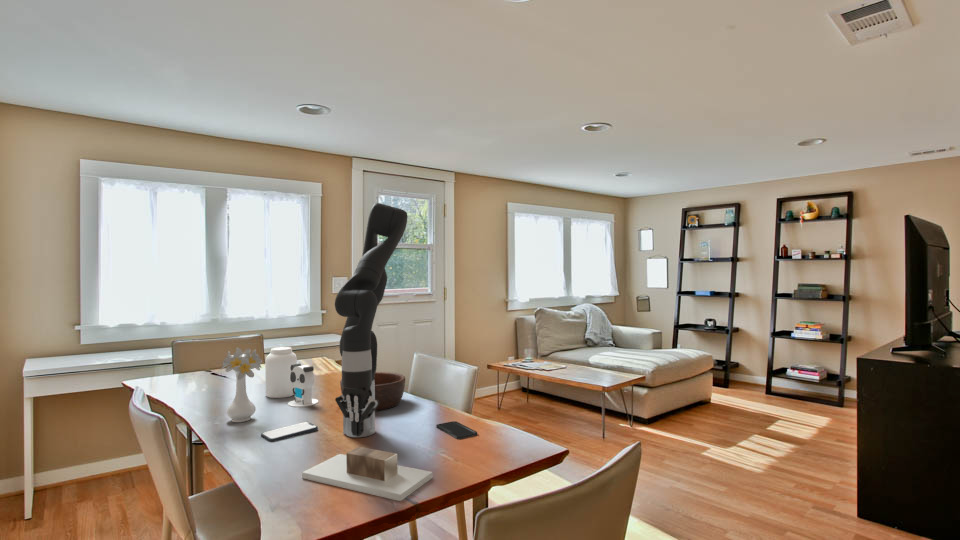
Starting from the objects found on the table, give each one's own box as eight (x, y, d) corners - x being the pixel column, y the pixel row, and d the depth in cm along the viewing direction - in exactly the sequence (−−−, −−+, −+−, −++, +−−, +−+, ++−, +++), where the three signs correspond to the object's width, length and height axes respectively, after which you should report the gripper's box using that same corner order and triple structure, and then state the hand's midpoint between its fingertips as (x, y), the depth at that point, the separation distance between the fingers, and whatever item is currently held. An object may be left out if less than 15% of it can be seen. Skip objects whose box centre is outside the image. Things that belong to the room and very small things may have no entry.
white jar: (302, 394, 212) (302, 347, 212) (273, 400, 203) (273, 351, 203) (289, 389, 221) (288, 344, 221) (260, 395, 212) (260, 347, 212)
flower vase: (232, 430, 165) (232, 354, 165) (214, 418, 178) (214, 348, 178) (272, 421, 174) (271, 350, 174) (252, 411, 188) (251, 344, 188)
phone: (455, 420, 172) (478, 432, 159) (455, 424, 172) (478, 436, 159) (434, 424, 168) (457, 437, 155) (434, 428, 168) (457, 440, 155)
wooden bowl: (345, 417, 180) (345, 388, 180) (336, 400, 203) (336, 375, 203) (413, 408, 190) (412, 381, 190) (396, 393, 213) (396, 369, 213)
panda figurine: (281, 403, 199) (281, 365, 199) (307, 397, 207) (307, 361, 207) (297, 408, 191) (297, 369, 191) (323, 402, 199) (323, 364, 199)
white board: (302, 478, 127) (302, 472, 127) (339, 459, 140) (339, 453, 140) (400, 501, 114) (400, 494, 114) (432, 477, 127) (432, 472, 127)
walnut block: (346, 453, 126) (385, 460, 121) (359, 446, 131) (397, 453, 126) (346, 472, 126) (385, 481, 121) (359, 465, 131) (397, 473, 126)
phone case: (270, 444, 154) (319, 431, 165) (270, 439, 154) (319, 426, 165) (259, 437, 160) (307, 425, 171) (259, 432, 160) (307, 421, 171)
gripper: (386, 366, 129) (387, 434, 129) (346, 363, 134) (346, 427, 134) (368, 372, 122) (368, 443, 122) (326, 368, 128) (327, 436, 128)
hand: (357, 435), depth 128 cm, fingers closed
